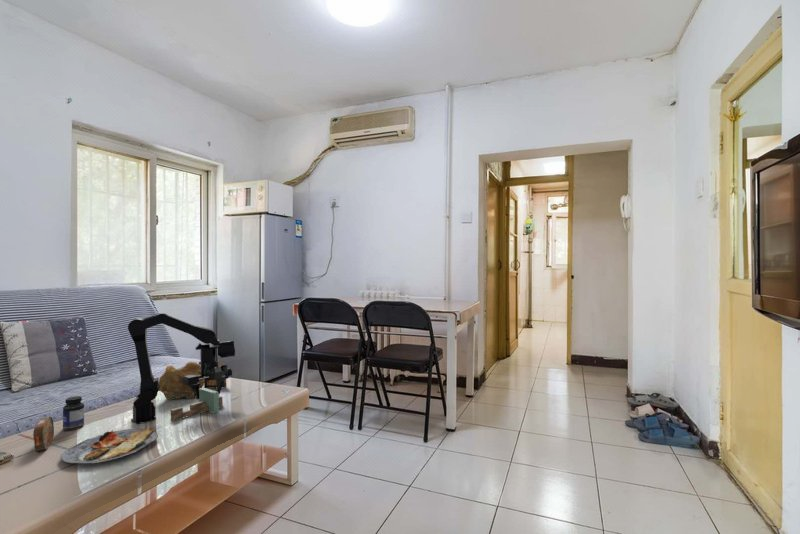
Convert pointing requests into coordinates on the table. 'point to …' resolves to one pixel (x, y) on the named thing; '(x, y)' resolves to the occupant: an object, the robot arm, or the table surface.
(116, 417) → the table surface
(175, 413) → the notched base plate
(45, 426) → the brown patterned slab
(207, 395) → the notched crosspiece
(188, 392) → the rough brown rock
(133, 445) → the food plate
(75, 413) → the pill bottle
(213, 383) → the ammunition clip
